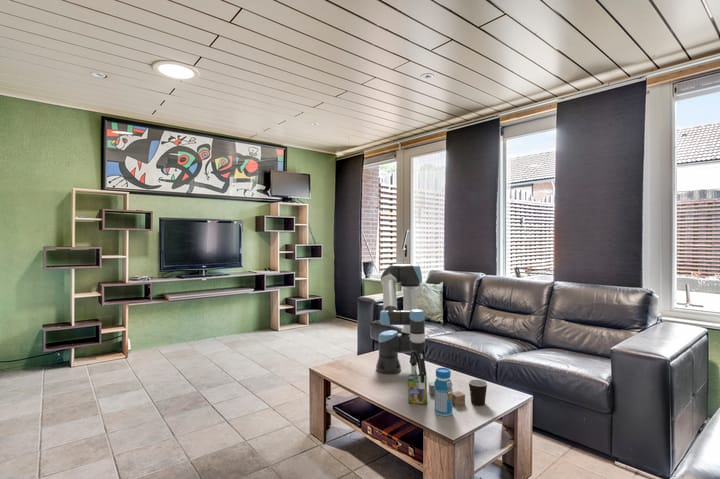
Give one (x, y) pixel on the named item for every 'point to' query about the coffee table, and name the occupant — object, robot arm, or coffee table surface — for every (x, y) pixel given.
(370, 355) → the coffee table surface
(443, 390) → the beverage bottle
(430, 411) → the coffee table surface
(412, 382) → the chalk box
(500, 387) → the coffee table surface
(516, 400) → the coffee table surface
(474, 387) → the coffee mug
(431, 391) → the gray cube
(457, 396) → the walnut block
